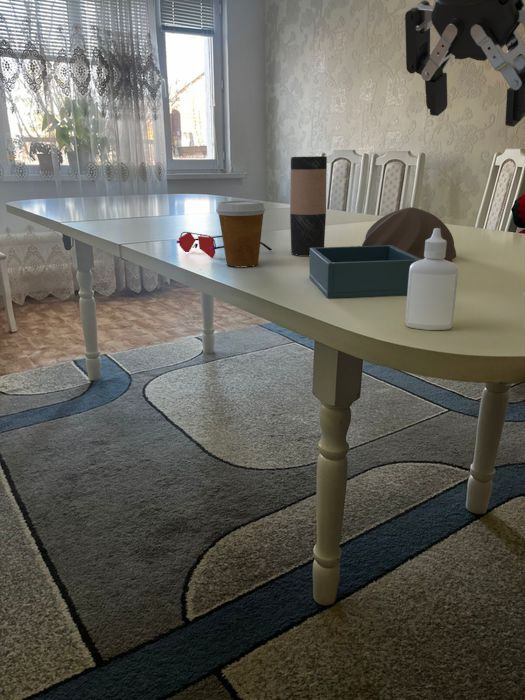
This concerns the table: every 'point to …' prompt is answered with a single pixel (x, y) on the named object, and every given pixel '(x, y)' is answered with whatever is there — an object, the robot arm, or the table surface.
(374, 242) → the decorative dome
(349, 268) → the bin
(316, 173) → the travel mug
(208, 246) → the glasses
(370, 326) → the table surface
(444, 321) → the eye dropper bottle
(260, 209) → the disposable coffee cup
